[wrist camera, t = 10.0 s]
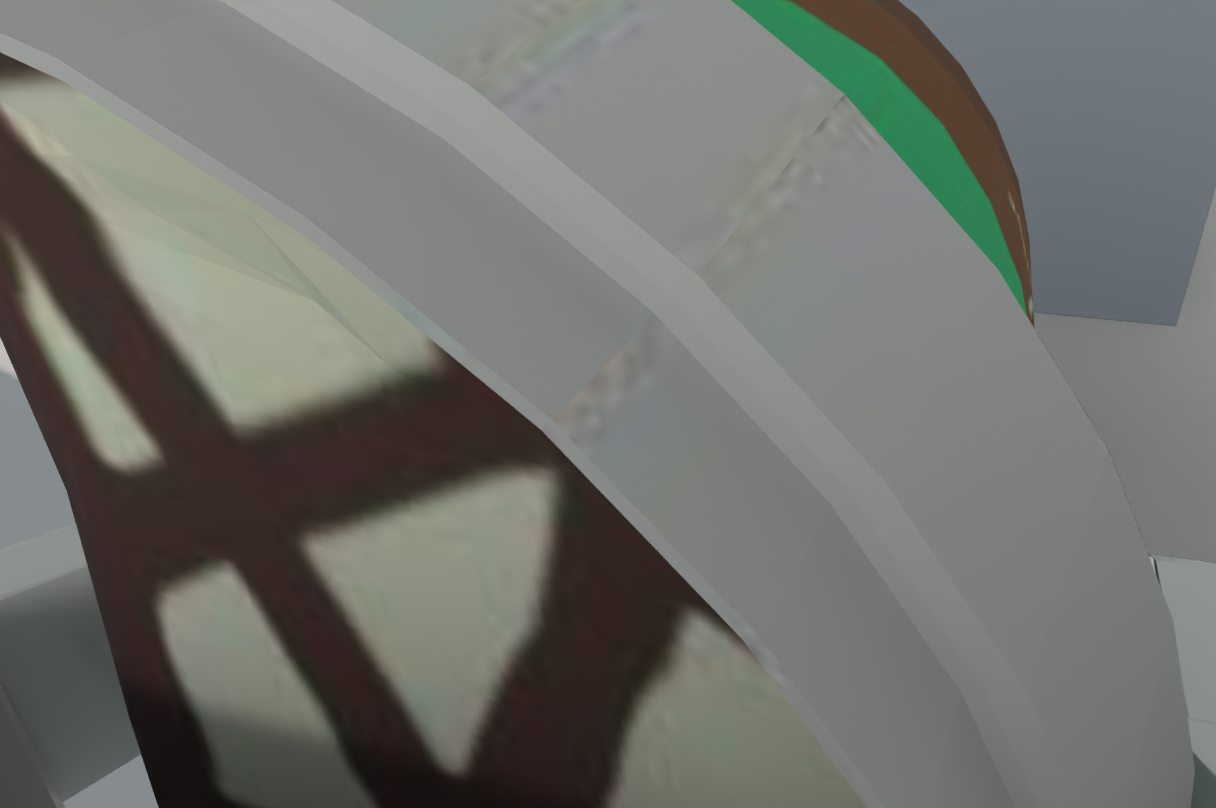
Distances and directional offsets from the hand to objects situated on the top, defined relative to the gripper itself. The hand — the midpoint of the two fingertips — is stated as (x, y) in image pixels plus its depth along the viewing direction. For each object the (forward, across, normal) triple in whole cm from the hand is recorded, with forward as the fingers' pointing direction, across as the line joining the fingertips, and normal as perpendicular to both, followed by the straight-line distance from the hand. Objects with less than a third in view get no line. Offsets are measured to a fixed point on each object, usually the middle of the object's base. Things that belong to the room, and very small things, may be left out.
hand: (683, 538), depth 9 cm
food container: (+6, -1, 0) cm, 6 cm away
